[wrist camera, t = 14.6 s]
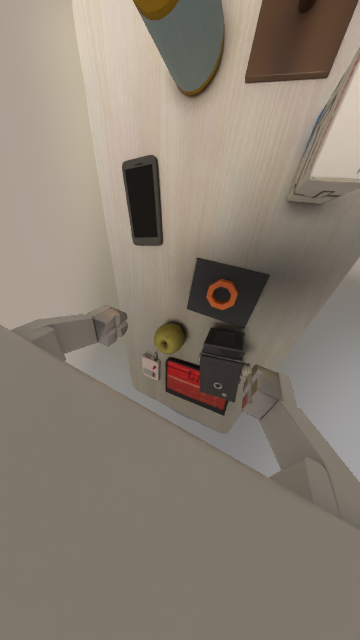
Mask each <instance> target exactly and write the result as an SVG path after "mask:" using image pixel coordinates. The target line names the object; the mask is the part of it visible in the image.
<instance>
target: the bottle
mask: <svg viewBox="0 0 360 640" xmlns="http://www.w3.org/2000/svg"><path fill="white" fill-rule="evenodd" d="M133 1H134V3H135V5H136V7H137V9H138V11H139V13H140V15H141V17H142V19H143V21H144V23H145V25H146V27H147V29H148V31H149V33H150V35H151V37H152V38H153V40H154V42H155V44H156V46H157V48H158V50H159V52H160V54H161V56H162V58H163V60H164V62H165V64H166V66H167V68H168V70H169V72H170V74H171V76H172V78H173V79H174V81H175V83H176V85H177V86H178V88H179V89H180V90H181V91H182V92H183V93H185V94H189V95H193V94H196V93H198V92H200V91H201V90H202V89H203V88H204V87H205V86H206V85H207V84H208V83H209V81H210V80H211V78H212V77H213V75H214V73H215V71H216V69H217V66H218V63H219V61H220V58H221V53H222V49H223V43H224V17H223V10H222V3H221V0H133Z"/></svg>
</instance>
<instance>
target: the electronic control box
mask: <svg viewBox="0 0 360 640" xmlns="http://www.w3.org/2000/svg"><path fill="white" fill-rule="evenodd" d="M142 373H143V374H144V375H146V376H148V377H150V378H153V379H155V380H157V381H159V380H160V360H159V359H157V358H156V352H155V357H153V356H150V355H147V353H146V354H144V355H143V356H142Z"/></svg>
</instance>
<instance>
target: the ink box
mask: <svg viewBox="0 0 360 640" xmlns="http://www.w3.org/2000/svg"><path fill="white" fill-rule="evenodd" d="M358 188H360V48H359V50H358V51H357V53H356V55H355V57H354V58H353V60H352V62H351V63H350V65H349V67H348V68H347V70H346V72H345V73H344V75H343V77H342V79H341V80H340V82H339V84H338V85H337V87H336V89H335V91H334V92H333V94H332V96H331V97H330V99H329V101H328V102H327V104H326V105H325V107H324V109H323V110H322V112H321V114H320V115H319V117H318V120H317V122H316V125H315V127H314V130H313V132H312V135H311V137H310V140H309V143H308V145H307V148H306V150H305V153H304V155H303V158H302V161H301V163H300V166H299V168H298V171H297V173H296V176H295V179H294V181H293V184H292V186H291V189H290V191H289V194H288V197H287V201H295V202H306V203H317V204H322V203H324V202H327V201H329V200H331V199H334V198H336V197H338V196H341V195H343V194H346V193H348V192H351V191H353V190H356V189H358Z"/></svg>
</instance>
